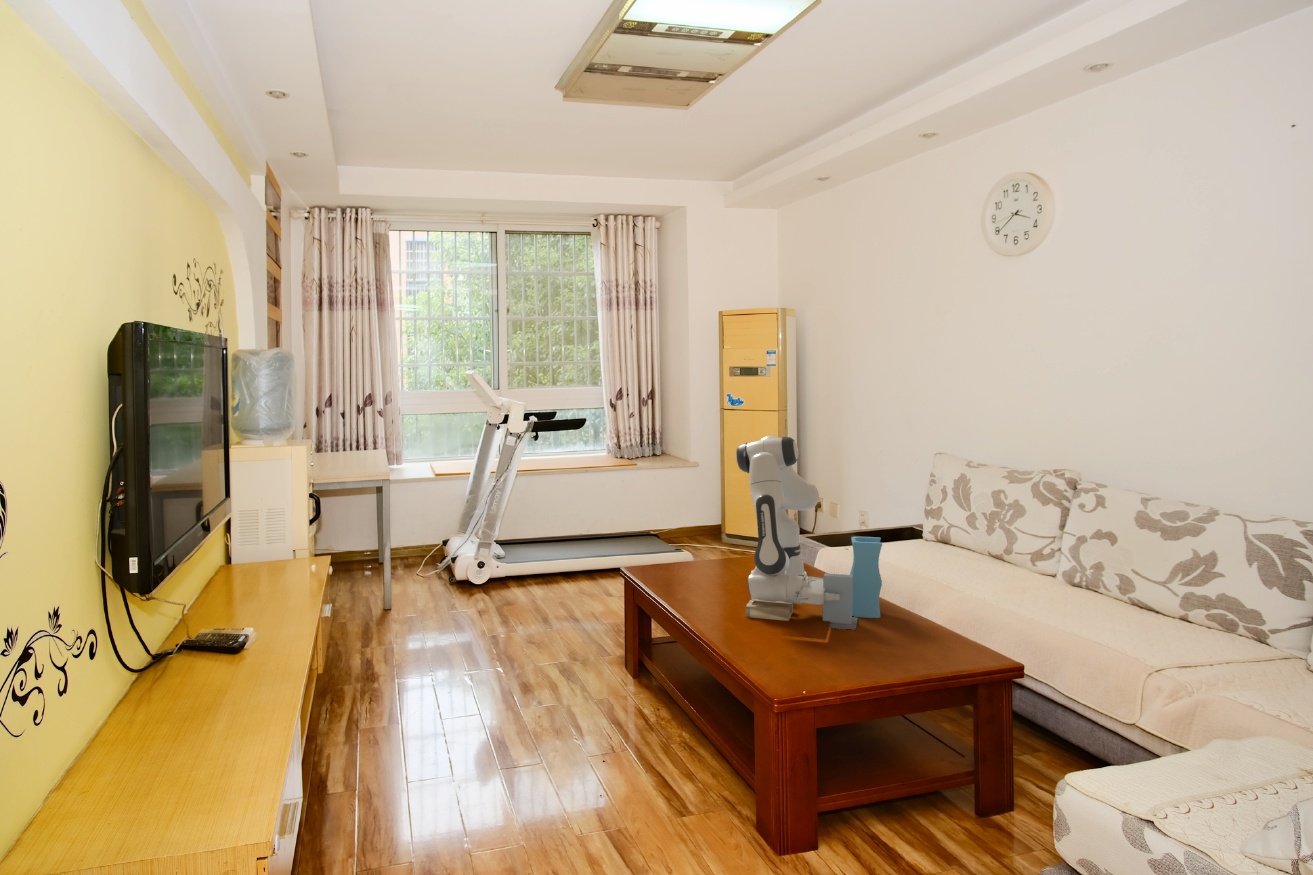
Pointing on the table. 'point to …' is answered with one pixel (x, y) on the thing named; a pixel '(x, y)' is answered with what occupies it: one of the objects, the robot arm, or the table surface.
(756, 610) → the birch box
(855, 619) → the felt pad
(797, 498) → the robot arm
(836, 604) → the cover plate
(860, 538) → the vase
